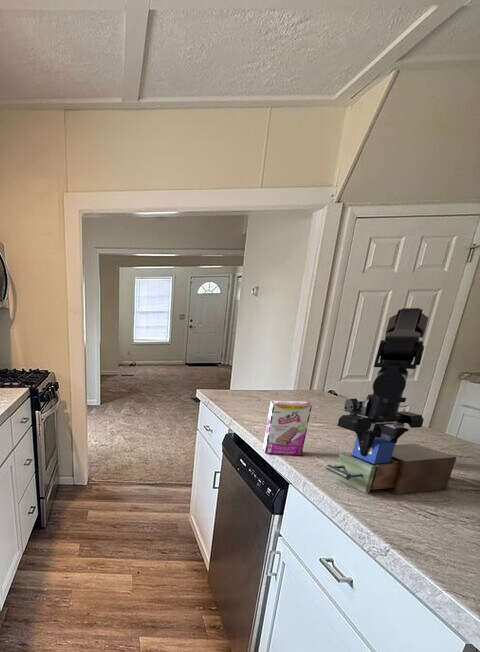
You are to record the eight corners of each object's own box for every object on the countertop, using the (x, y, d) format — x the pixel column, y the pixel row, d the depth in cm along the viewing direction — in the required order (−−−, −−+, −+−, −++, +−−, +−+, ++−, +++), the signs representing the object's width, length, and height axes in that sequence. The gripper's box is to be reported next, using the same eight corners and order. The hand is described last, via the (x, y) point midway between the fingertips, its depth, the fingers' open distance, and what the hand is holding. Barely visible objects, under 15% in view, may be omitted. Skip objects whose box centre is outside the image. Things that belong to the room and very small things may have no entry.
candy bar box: (265, 454, 128) (272, 403, 121) (262, 449, 132) (269, 400, 126) (302, 456, 125) (312, 404, 119) (298, 451, 130) (308, 400, 124)
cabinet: (395, 494, 98) (405, 461, 95) (359, 477, 109) (366, 447, 106) (445, 489, 101) (457, 456, 97) (405, 472, 111) (413, 443, 108)
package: (351, 455, 103) (356, 436, 101) (367, 453, 104) (371, 435, 102) (373, 464, 97) (379, 444, 95) (390, 462, 97) (395, 443, 95)
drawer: (347, 494, 96) (354, 468, 94) (318, 478, 106) (323, 454, 103) (412, 488, 99) (420, 462, 97) (378, 473, 109) (384, 449, 106)
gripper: (392, 384, 103) (377, 443, 109) (328, 388, 100) (316, 447, 106) (434, 392, 93) (414, 456, 98) (363, 396, 89) (347, 461, 95)
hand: (371, 454), depth 100 cm, fingers closed on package, 4 cm apart
